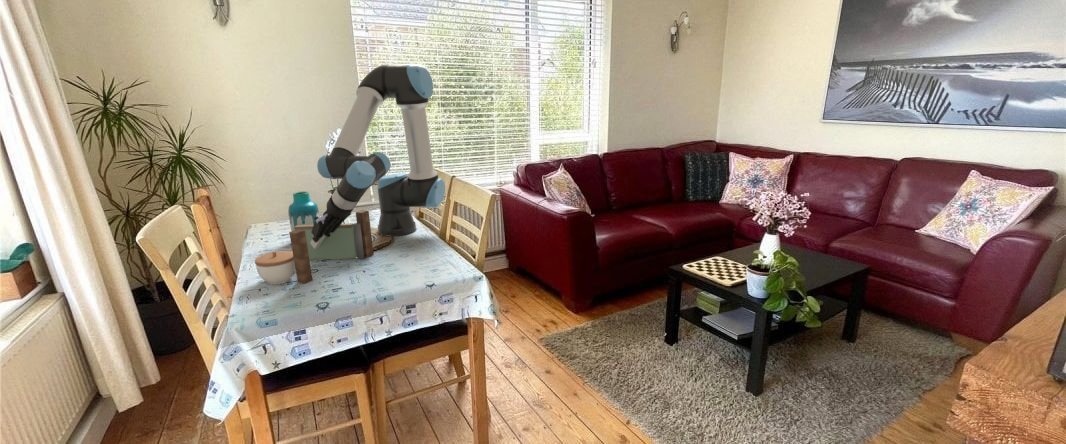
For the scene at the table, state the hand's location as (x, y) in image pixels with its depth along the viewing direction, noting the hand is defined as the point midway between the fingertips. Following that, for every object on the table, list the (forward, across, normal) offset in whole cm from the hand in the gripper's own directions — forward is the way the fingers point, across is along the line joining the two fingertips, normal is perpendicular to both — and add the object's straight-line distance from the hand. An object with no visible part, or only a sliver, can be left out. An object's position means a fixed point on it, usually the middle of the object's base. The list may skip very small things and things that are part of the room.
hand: (314, 245), depth 155 cm
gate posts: (-3, 0, +12) cm, 13 cm away
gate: (+2, -4, +6) cm, 8 cm away
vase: (+20, -14, -11) cm, 27 cm away
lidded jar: (+2, +16, +6) cm, 17 cm away
